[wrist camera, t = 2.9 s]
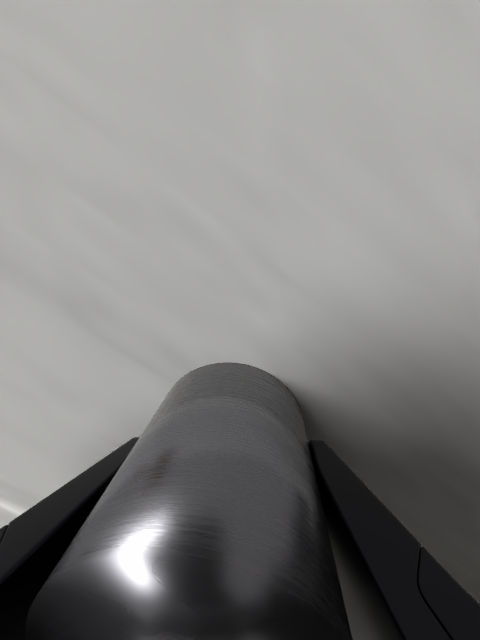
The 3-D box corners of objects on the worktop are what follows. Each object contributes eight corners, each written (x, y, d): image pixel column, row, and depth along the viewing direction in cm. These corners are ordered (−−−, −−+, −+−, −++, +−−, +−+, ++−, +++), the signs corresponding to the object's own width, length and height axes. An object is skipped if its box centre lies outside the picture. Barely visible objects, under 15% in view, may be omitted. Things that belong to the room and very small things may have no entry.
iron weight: (304, 361, 8) (377, 567, 3) (303, 487, 10) (351, 783, 4) (152, 363, 9) (-19, 542, 3) (170, 482, 10) (67, 743, 5)
